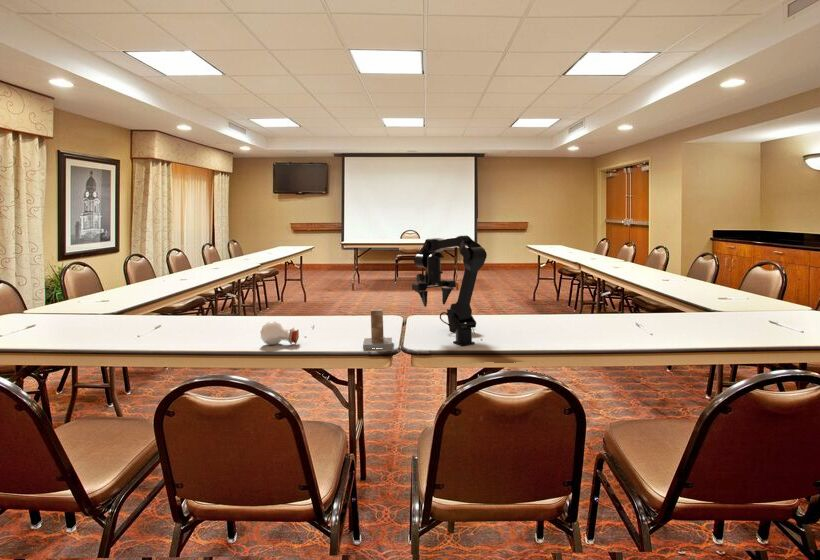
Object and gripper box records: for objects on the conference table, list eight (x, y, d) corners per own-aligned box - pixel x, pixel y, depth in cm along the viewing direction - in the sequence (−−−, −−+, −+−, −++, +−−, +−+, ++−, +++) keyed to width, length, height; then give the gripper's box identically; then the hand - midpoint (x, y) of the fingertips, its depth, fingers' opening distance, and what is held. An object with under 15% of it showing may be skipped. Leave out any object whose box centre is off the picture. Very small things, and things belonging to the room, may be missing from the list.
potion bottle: (261, 347, 217) (296, 351, 216) (254, 337, 209) (290, 342, 207) (267, 326, 222) (301, 330, 220) (260, 316, 213) (296, 321, 212)
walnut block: (383, 339, 210) (382, 308, 209) (383, 342, 206) (382, 310, 204) (372, 339, 210) (371, 308, 209) (371, 342, 206) (370, 310, 204)
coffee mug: (466, 328, 237) (466, 306, 236) (466, 332, 228) (466, 309, 227) (440, 328, 238) (440, 306, 237) (439, 332, 229) (439, 310, 228)
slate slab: (391, 342, 214) (391, 337, 214) (391, 349, 203) (391, 343, 203) (364, 343, 214) (364, 338, 213) (363, 349, 203) (362, 344, 202)
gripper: (442, 265, 232) (442, 300, 234) (405, 268, 223) (405, 305, 225) (456, 267, 222) (457, 304, 224) (418, 270, 213) (419, 308, 215)
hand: (434, 305), depth 222 cm, fingers open, 9 cm apart
